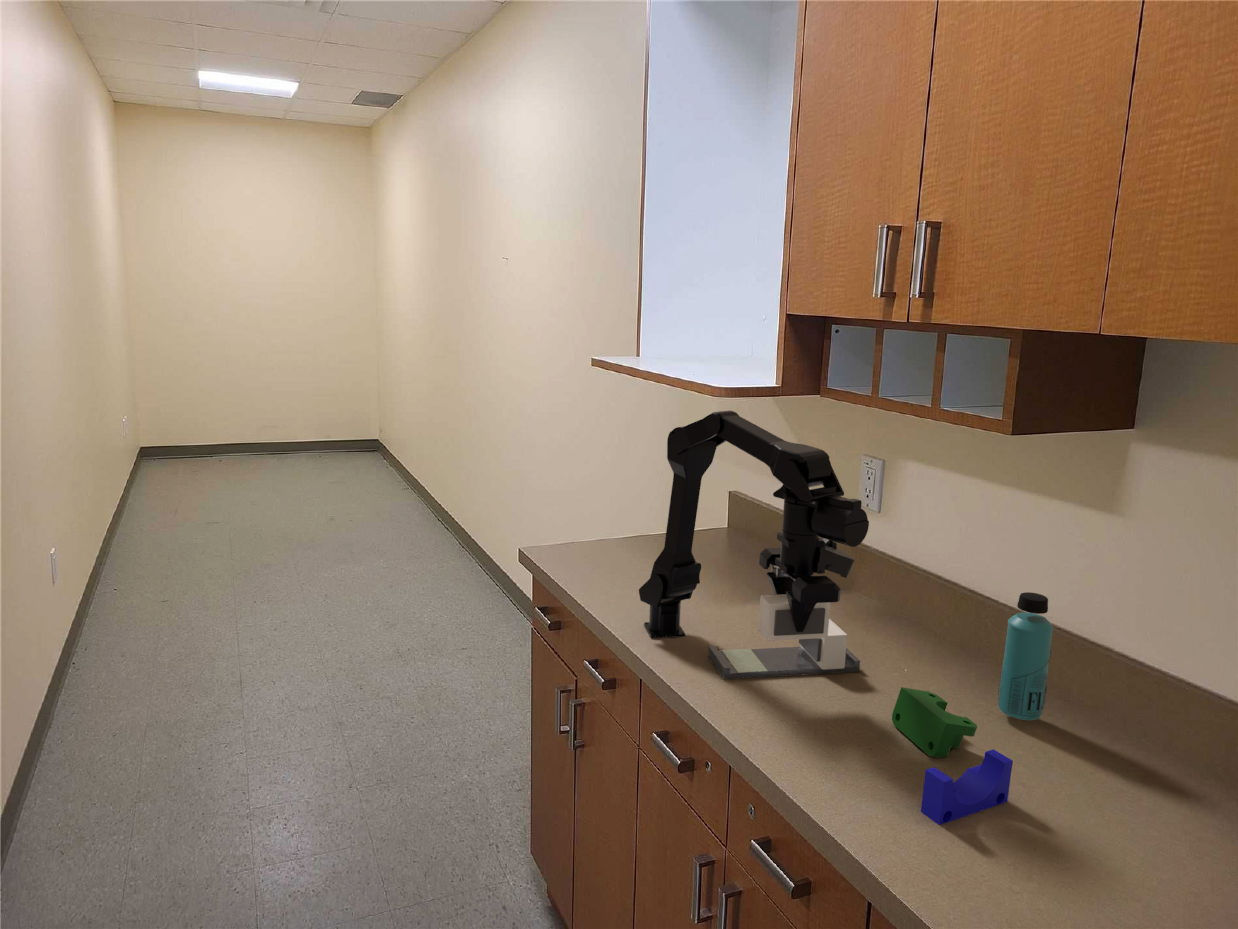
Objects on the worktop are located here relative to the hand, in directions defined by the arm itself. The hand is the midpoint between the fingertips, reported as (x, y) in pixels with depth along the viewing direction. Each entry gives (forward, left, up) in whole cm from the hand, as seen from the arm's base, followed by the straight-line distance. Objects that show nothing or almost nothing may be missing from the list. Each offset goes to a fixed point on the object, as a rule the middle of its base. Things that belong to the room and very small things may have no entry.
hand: (793, 625), depth 139 cm
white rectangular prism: (0, 0, -2) cm, 2 cm away
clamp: (+17, +15, -12) cm, 26 cm away
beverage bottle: (+13, +32, -12) cm, 36 cm away
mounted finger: (-11, +10, -10) cm, 18 cm away
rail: (-10, +3, -11) cm, 16 cm away
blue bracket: (+32, +10, -12) cm, 36 cm away
